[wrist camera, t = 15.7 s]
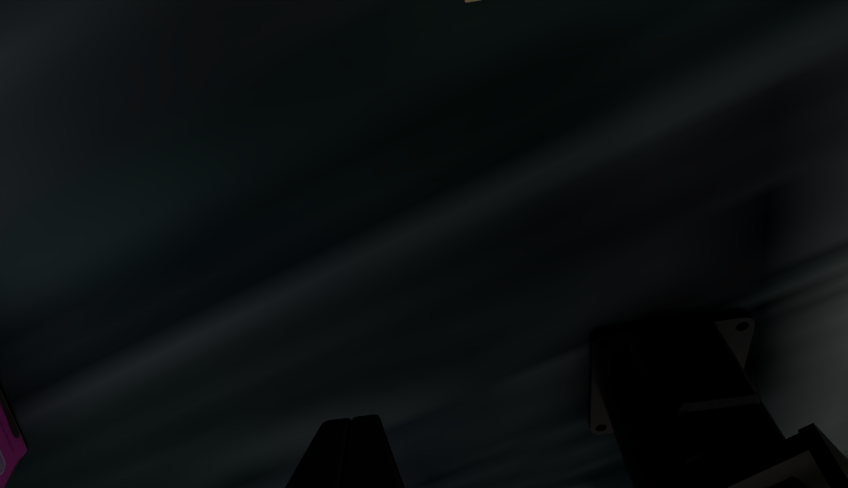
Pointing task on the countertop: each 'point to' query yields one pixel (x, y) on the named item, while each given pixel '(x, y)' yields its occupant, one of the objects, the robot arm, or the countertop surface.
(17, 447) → the candy bar box
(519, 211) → the countertop surface
